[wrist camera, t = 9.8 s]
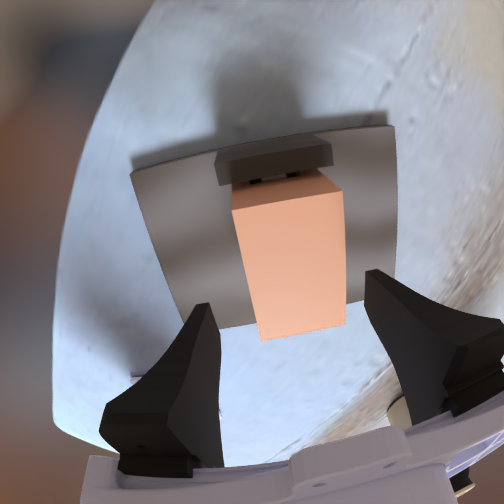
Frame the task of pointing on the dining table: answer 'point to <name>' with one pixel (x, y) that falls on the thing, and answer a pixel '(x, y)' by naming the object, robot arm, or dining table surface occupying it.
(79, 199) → the dining table surface
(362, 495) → the robot arm
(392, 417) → the travel mug
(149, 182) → the rail board
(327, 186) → the slotted block
